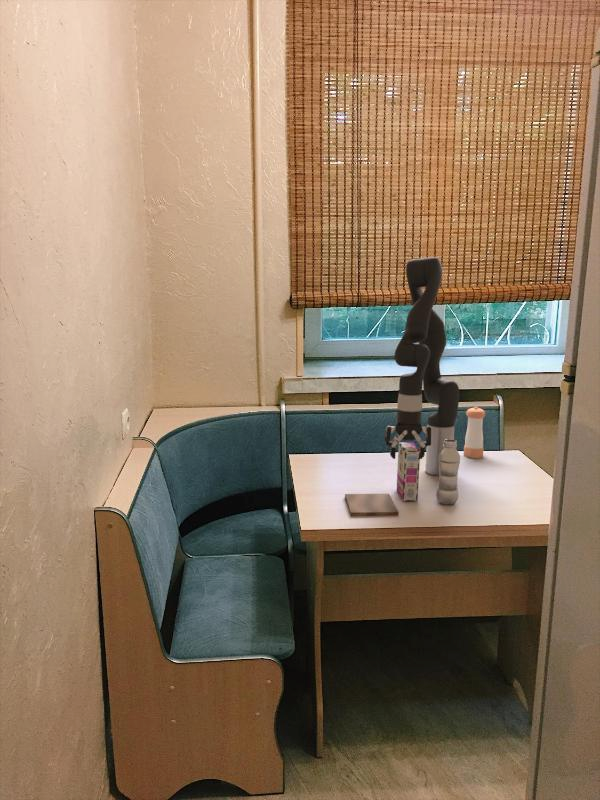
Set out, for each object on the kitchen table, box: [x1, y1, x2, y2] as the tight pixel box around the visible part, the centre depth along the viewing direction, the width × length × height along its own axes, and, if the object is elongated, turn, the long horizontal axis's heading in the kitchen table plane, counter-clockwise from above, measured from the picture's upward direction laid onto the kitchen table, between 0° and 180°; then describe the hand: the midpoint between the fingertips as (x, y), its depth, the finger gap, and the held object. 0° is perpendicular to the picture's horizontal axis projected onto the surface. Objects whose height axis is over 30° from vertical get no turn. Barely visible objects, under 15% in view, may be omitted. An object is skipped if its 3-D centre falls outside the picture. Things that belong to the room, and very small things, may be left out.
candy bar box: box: [396, 441, 421, 503], centre depth 221 cm, size 11×5×16 cm, turn 3°
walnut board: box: [344, 493, 399, 517], centre depth 213 cm, size 14×16×1 cm
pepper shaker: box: [463, 406, 486, 459], centre depth 265 cm, size 7×7×19 cm
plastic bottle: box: [435, 439, 461, 505], centre depth 214 cm, size 6×7×20 cm
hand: (406, 458), depth 220 cm, fingers open, 8 cm apart
